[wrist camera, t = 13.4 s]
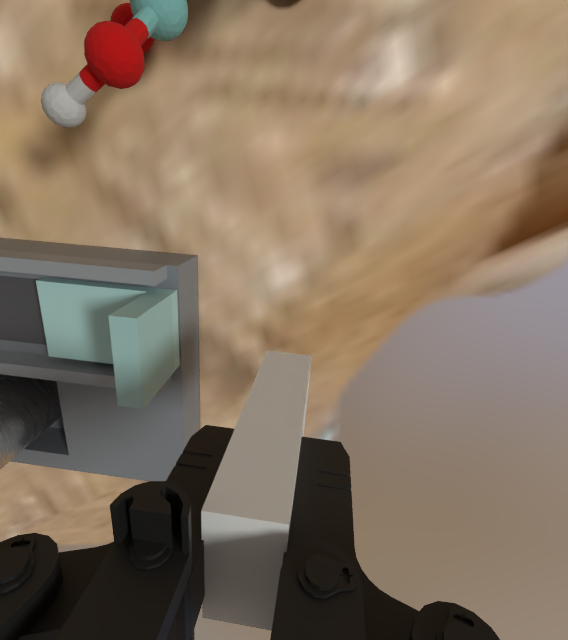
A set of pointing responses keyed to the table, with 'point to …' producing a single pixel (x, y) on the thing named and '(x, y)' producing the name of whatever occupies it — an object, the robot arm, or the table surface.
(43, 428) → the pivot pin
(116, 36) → the molecular model
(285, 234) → the table surface
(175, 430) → the housing
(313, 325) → the table surface
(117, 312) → the lid
